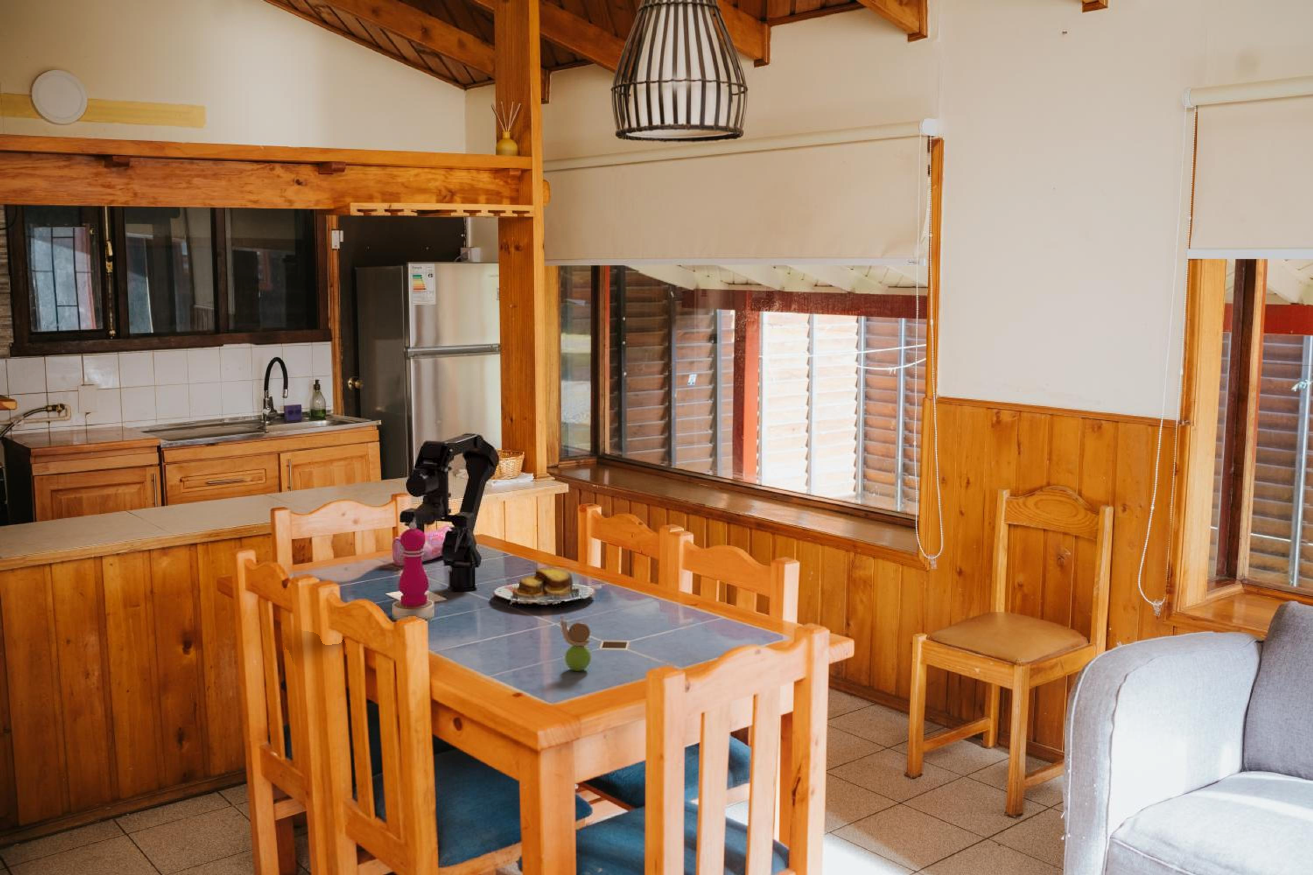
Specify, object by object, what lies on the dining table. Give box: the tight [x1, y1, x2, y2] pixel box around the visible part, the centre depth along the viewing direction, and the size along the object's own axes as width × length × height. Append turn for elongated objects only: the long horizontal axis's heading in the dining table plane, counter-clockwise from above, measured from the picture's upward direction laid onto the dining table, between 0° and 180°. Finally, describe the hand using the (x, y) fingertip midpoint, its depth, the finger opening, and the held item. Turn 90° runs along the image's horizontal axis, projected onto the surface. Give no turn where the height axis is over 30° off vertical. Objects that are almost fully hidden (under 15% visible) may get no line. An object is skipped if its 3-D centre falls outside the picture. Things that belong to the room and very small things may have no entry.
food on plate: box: [492, 567, 596, 606], centre depth 303 cm, size 26×26×7 cm
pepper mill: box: [398, 523, 430, 607], centre depth 285 cm, size 7×7×20 cm
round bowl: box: [391, 599, 435, 621], centre depth 286 cm, size 10×10×3 cm
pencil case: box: [391, 524, 453, 567], centre depth 343 cm, size 21×9×9 cm, turn 141°
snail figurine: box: [560, 614, 592, 672], centre depth 248 cm, size 5×6×12 cm
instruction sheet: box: [385, 590, 448, 603], centre depth 303 cm, size 10×14×1 cm
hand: (437, 550), depth 298 cm, fingers open, 9 cm apart
